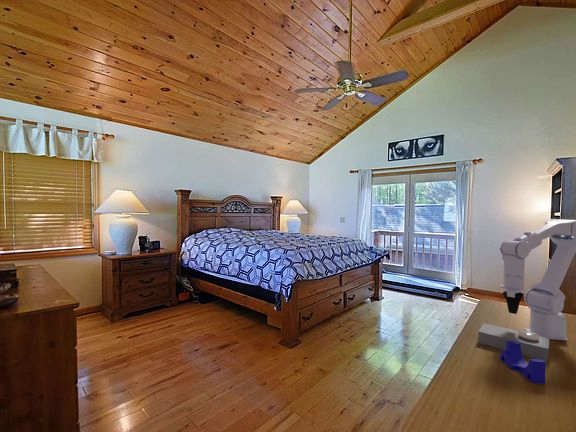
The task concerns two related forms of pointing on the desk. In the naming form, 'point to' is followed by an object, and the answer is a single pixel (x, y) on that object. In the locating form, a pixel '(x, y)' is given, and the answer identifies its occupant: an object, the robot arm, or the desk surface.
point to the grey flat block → (500, 335)
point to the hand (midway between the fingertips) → (512, 312)
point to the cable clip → (523, 363)
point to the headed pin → (528, 336)
